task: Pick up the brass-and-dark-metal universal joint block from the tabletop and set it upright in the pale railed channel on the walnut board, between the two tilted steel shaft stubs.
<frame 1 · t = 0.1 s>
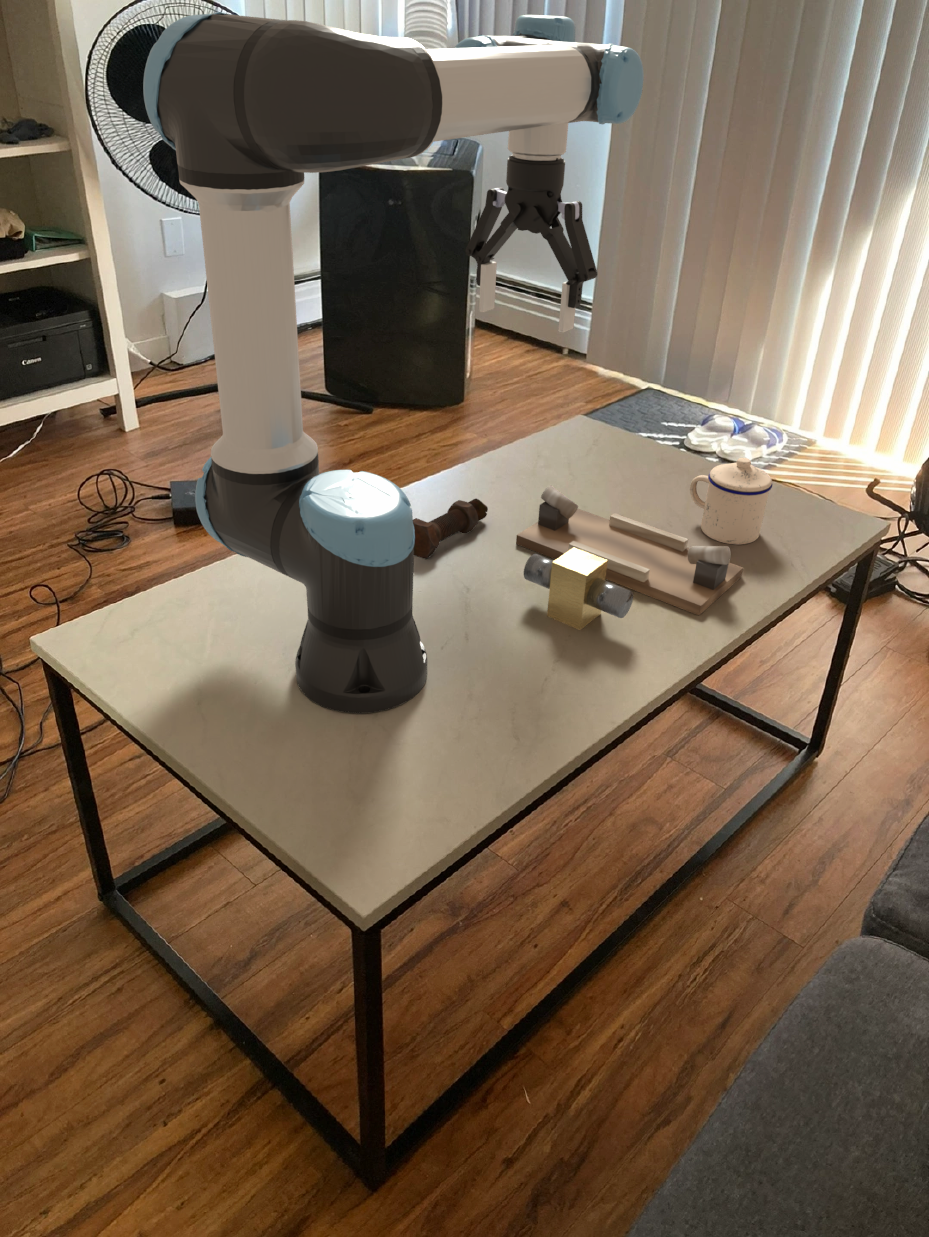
hand: (525, 320, 139), 28 cm above the table, tool pointing down, fingers open, 13 cm apart
universal joint: (573, 615, 127), on the table
bolt: (450, 539, 144), on the table
teacup with lid: (720, 529, 149), on the table
coupling cradle: (626, 560, 139), on the table
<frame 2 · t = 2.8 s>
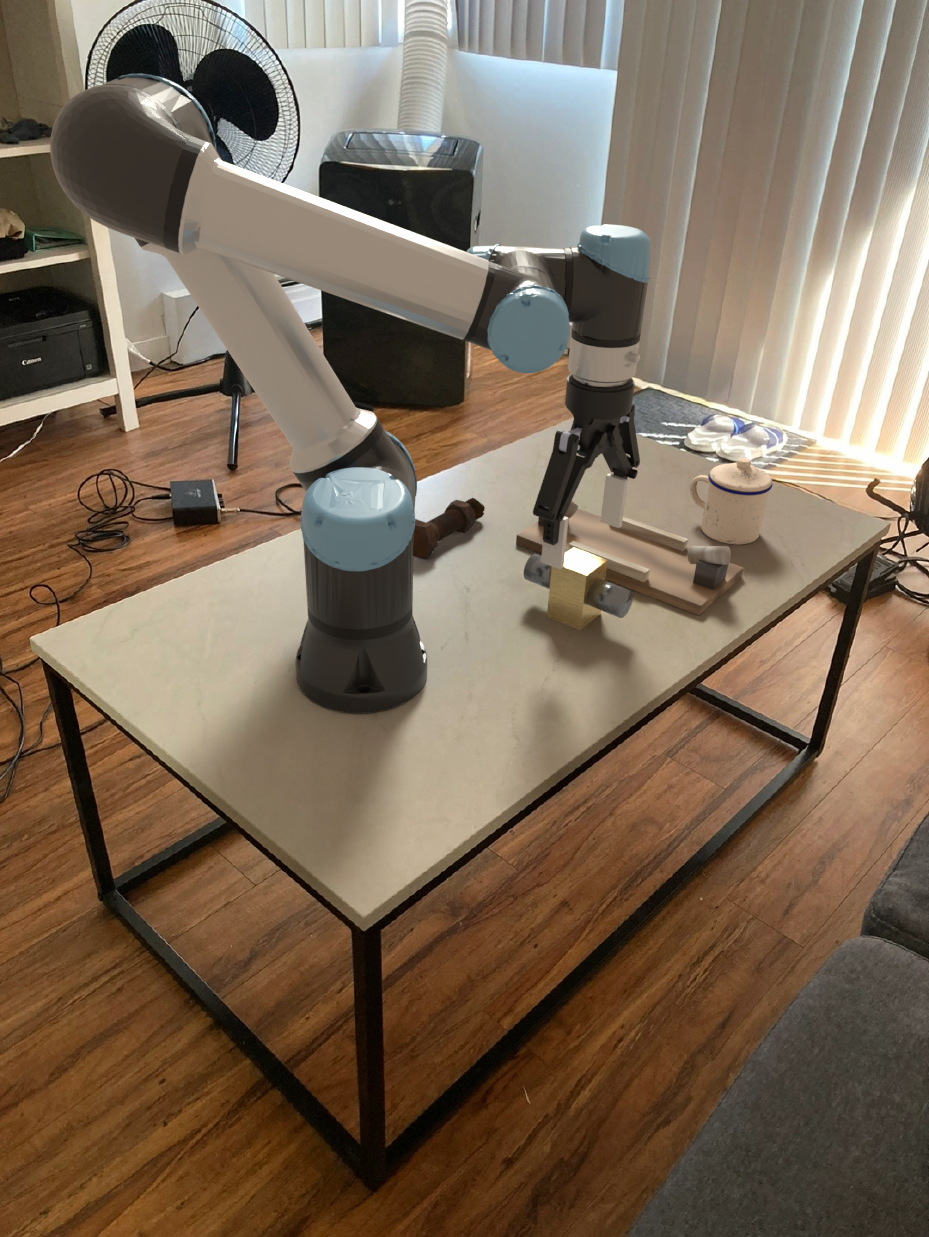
hand: (582, 543, 121), 10 cm above the table, tool pointing down, fingers open, 13 cm apart
nothing on the table moved.
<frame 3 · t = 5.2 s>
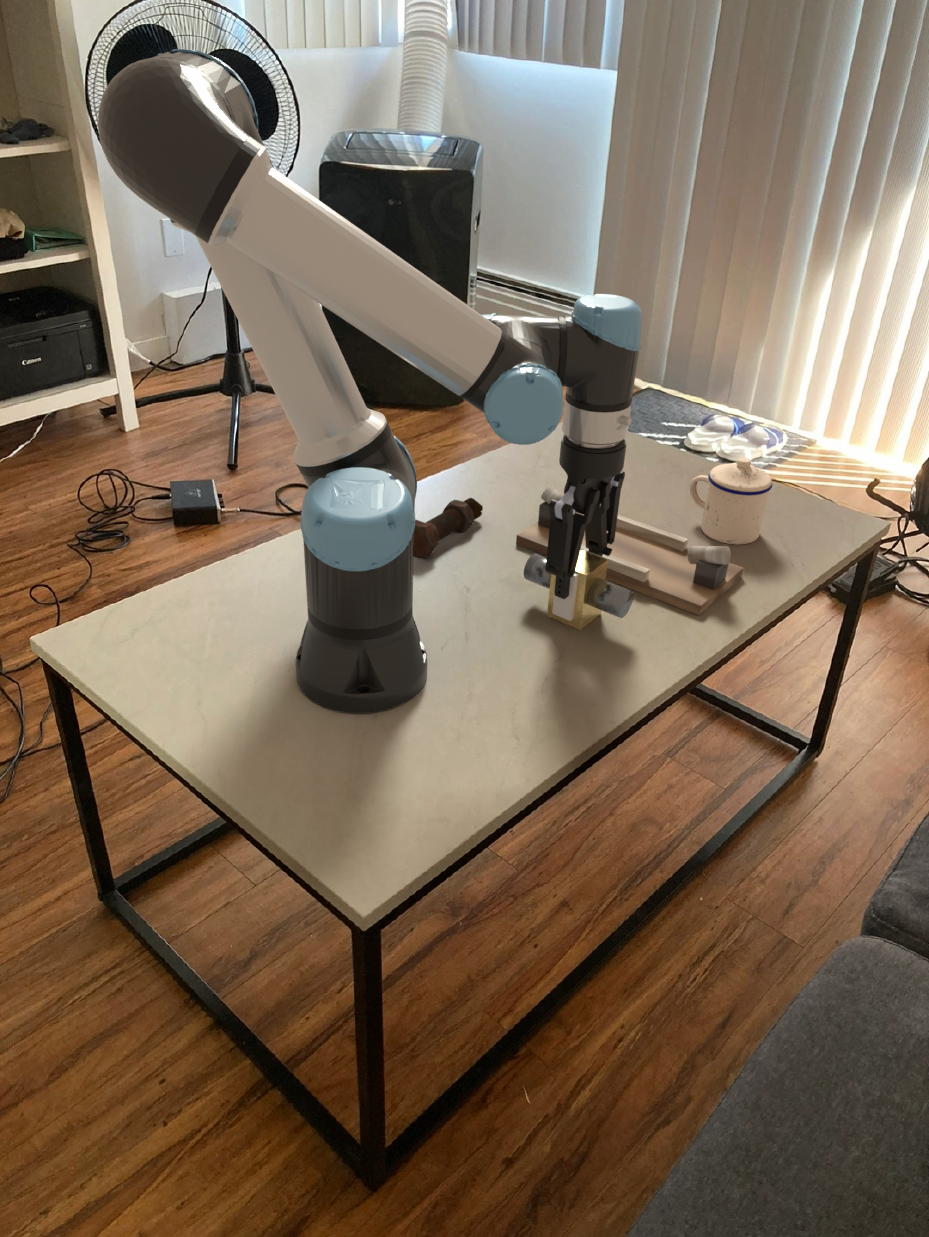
hand: (574, 606, 126), 1 cm above the table, tool pointing down, fingers closed on universal joint, 5 cm apart
universal joint: (574, 614, 127), on the table, touching gripper
everything else where it was.
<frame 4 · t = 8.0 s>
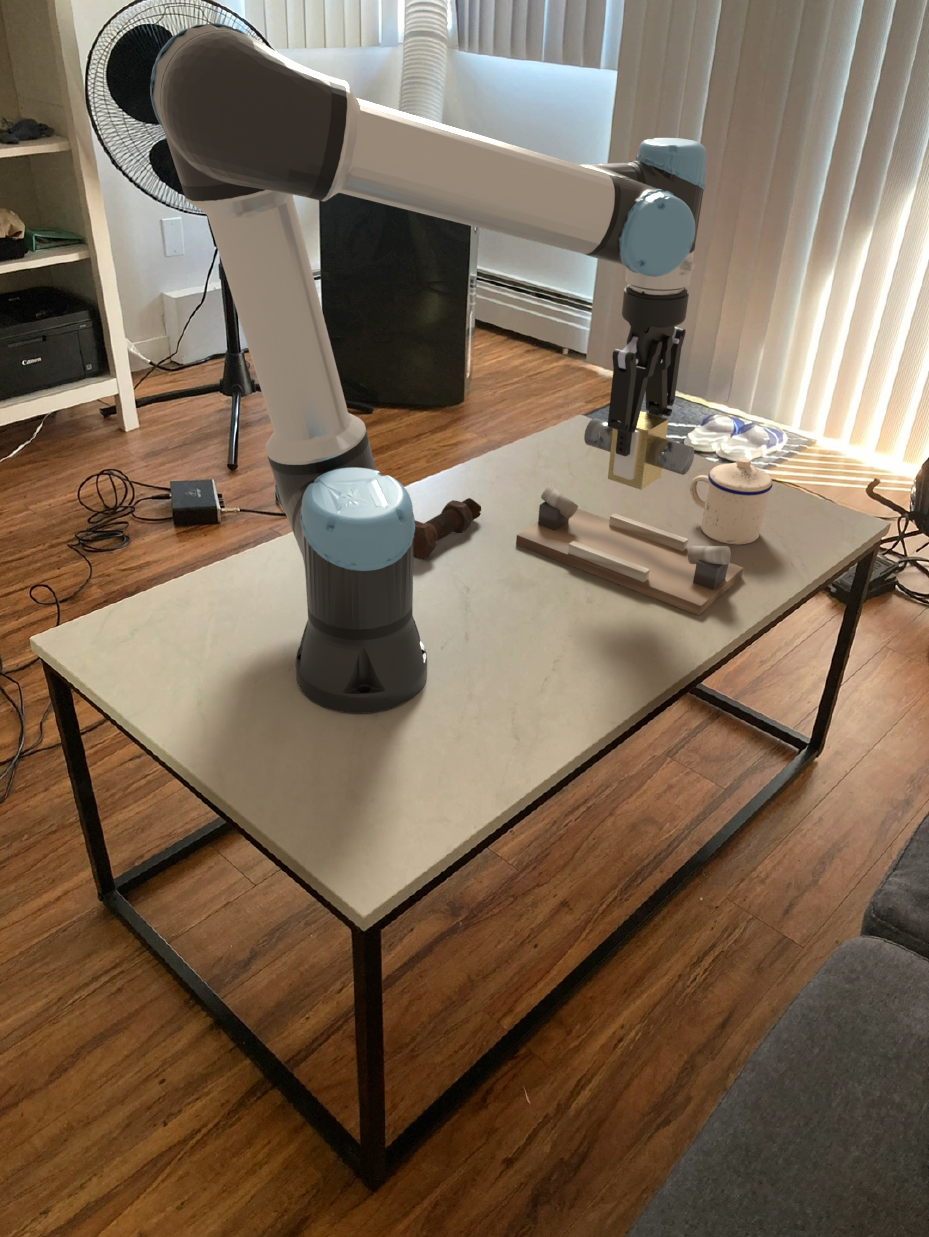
hand: (635, 468, 128), 16 cm above the table, tool pointing down, fingers closed on universal joint, 5 cm apart
universal joint: (634, 477, 129), point 14 cm above the table, touching gripper
everything else where it was.
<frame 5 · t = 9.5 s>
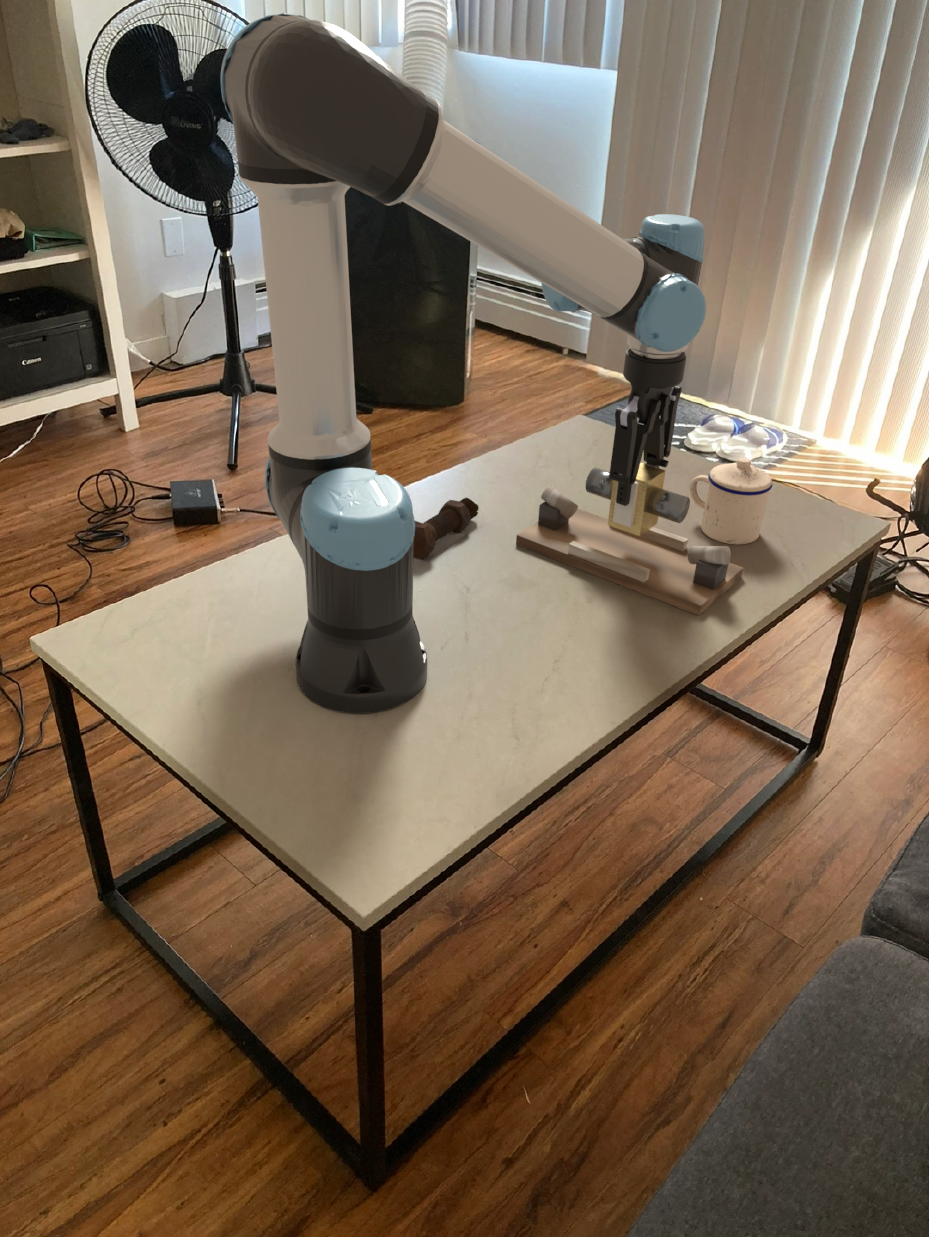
hand: (633, 515, 136), 7 cm above the table, tool pointing down, fingers closed on universal joint, 5 cm apart
universal joint: (632, 524, 136), point 6 cm above the table, touching gripper
everything else where it was.
when the fingers open (4 cm above the table, at t = 10.7 s): universal joint stays where it is, resting on coupling cradle.
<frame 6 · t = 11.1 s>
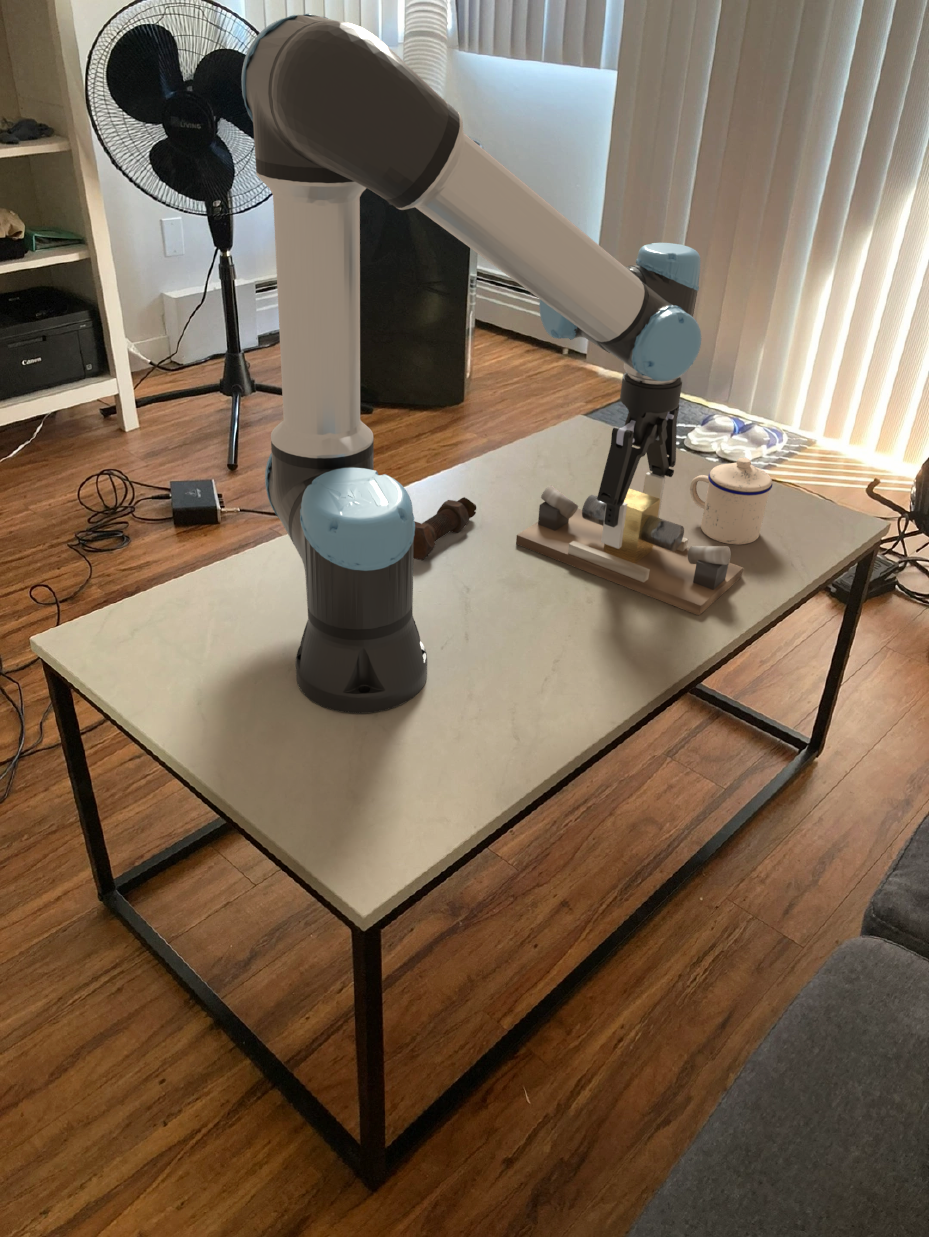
hand: (630, 530, 137), 5 cm above the table, tool pointing down, fingers open, 10 cm apart
universal joint: (627, 551, 139), point 1 cm above the table, touching coupling cradle
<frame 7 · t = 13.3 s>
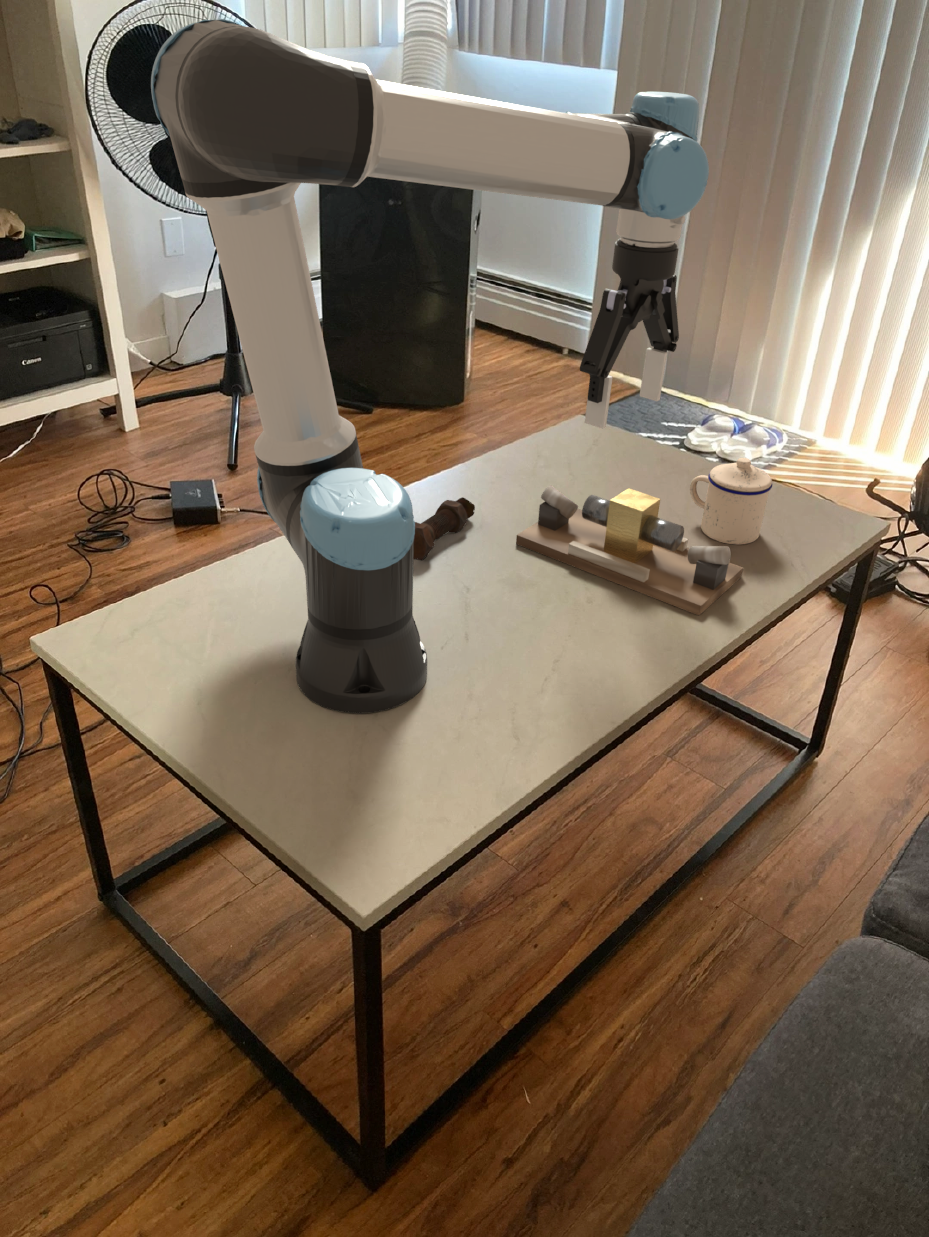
hand: (623, 411, 128), 22 cm above the table, tool pointing down, fingers open, 13 cm apart
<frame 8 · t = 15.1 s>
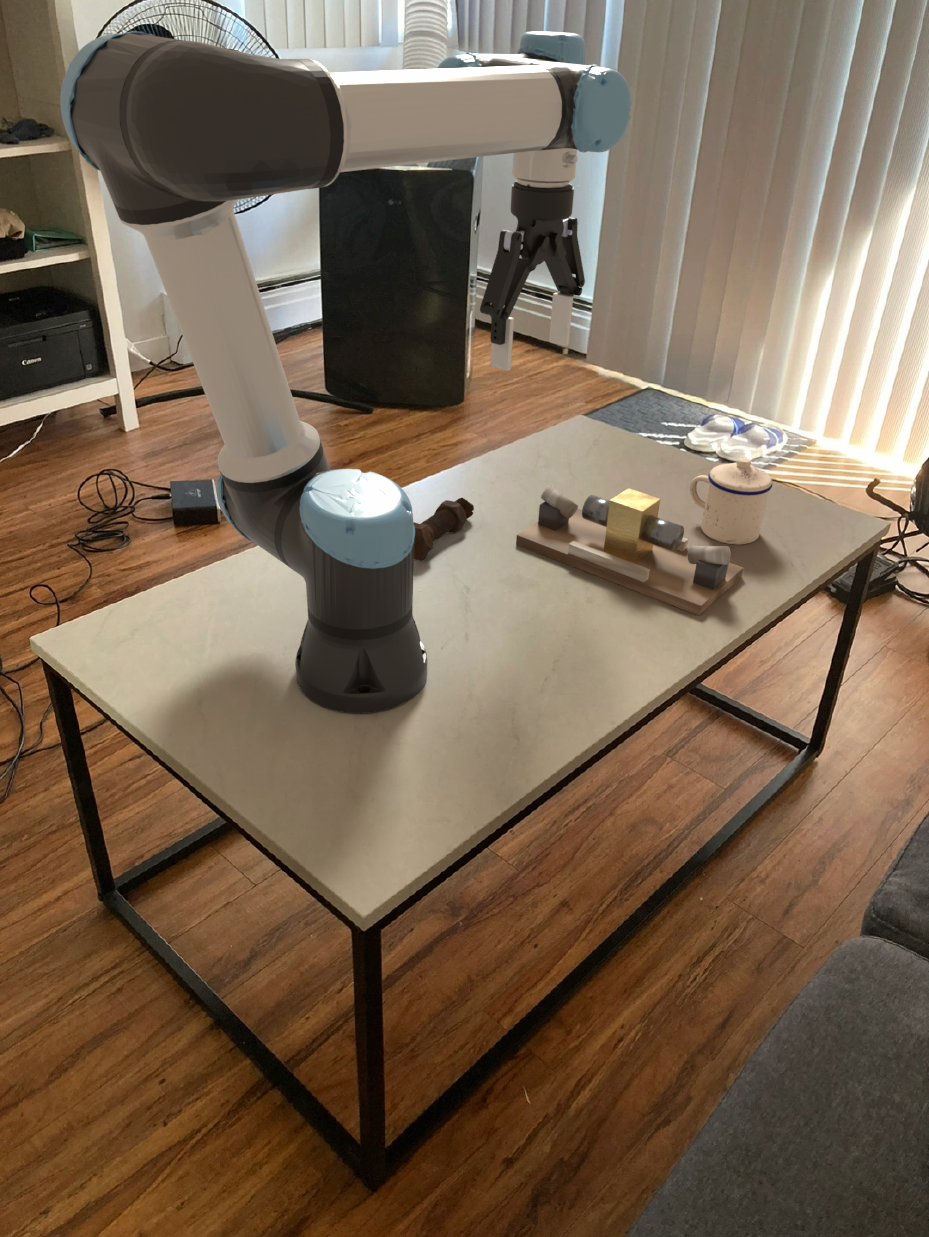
hand: (530, 355, 130), 27 cm above the table, tool pointing down, fingers open, 13 cm apart
at the end: universal joint 0.0 cm off-centre on the coupling cradle, point 1.5 cm above the coupling cradle's base; universal joint tilted 0°; the gripper is holding nothing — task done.
